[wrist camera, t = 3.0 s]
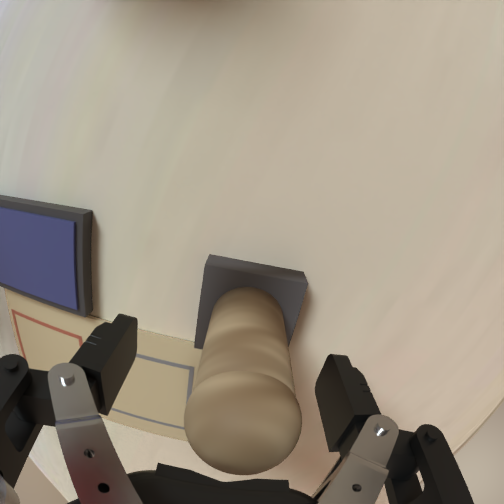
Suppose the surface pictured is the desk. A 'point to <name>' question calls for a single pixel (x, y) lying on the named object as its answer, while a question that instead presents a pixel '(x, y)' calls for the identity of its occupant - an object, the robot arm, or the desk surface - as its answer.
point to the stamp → (245, 366)
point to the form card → (139, 377)
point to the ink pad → (46, 253)
